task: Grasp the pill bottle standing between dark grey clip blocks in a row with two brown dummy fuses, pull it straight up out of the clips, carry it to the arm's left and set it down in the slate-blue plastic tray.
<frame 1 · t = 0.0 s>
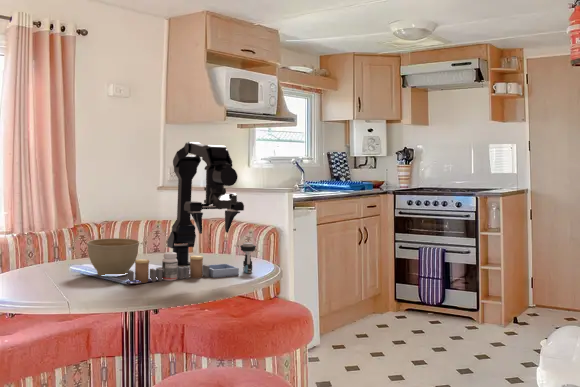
hand: (213, 233, 184), 15 cm above the table, fingers open, 9 cm apart
pill bottle: (169, 279, 182), on the table
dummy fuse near: (141, 281, 177), on the table
push button: (247, 272, 197), on the table
planter bowl: (113, 275, 186), on the table
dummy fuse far: (196, 276, 187), on the table
clip row: (169, 279, 182), on the table
tray: (220, 274, 192), on the table
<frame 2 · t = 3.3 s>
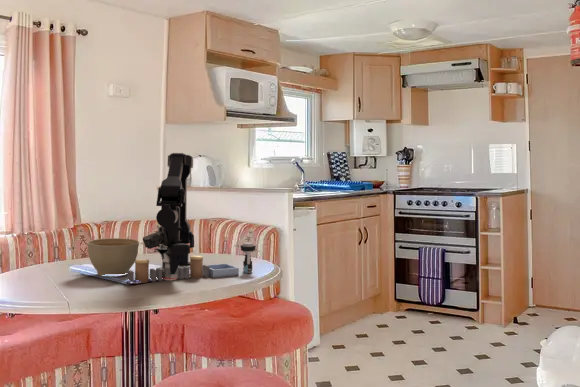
hand: (169, 272, 182), 2 cm above the table, fingers closed on pill bottle, 5 cm apart
pill bottle: (169, 279, 182), on the table, touching gripper
everything else where it was.
when the fingers open (4 cm above the table, at t = 8.1 s): pill bottle stays where it is, resting on tray.
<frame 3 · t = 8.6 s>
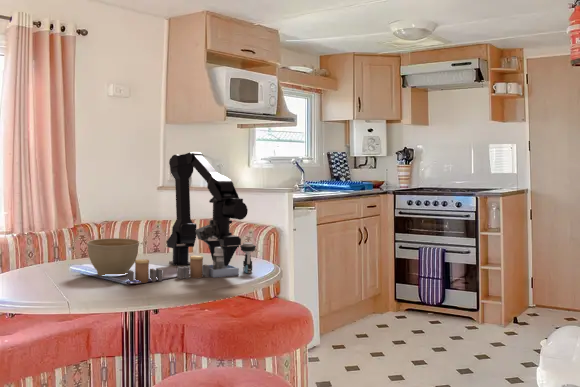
hand: (220, 263, 192), 4 cm above the table, fingers open, 9 cm apart
pill bottle: (219, 272, 192), resting on tray
everything else where it was.
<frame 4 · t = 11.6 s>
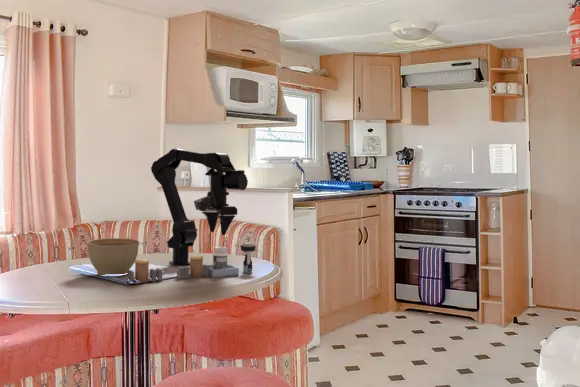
hand: (217, 233, 201), 13 cm above the table, fingers open, 9 cm apart
nothing on the table moved.
at the end: pill bottle inside the target area on the tray (0.1 cm from its centre), point 0.4 cm above the tray's base; the gripper is holding nothing; pill bottle moved 18.0 cm from its start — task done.
